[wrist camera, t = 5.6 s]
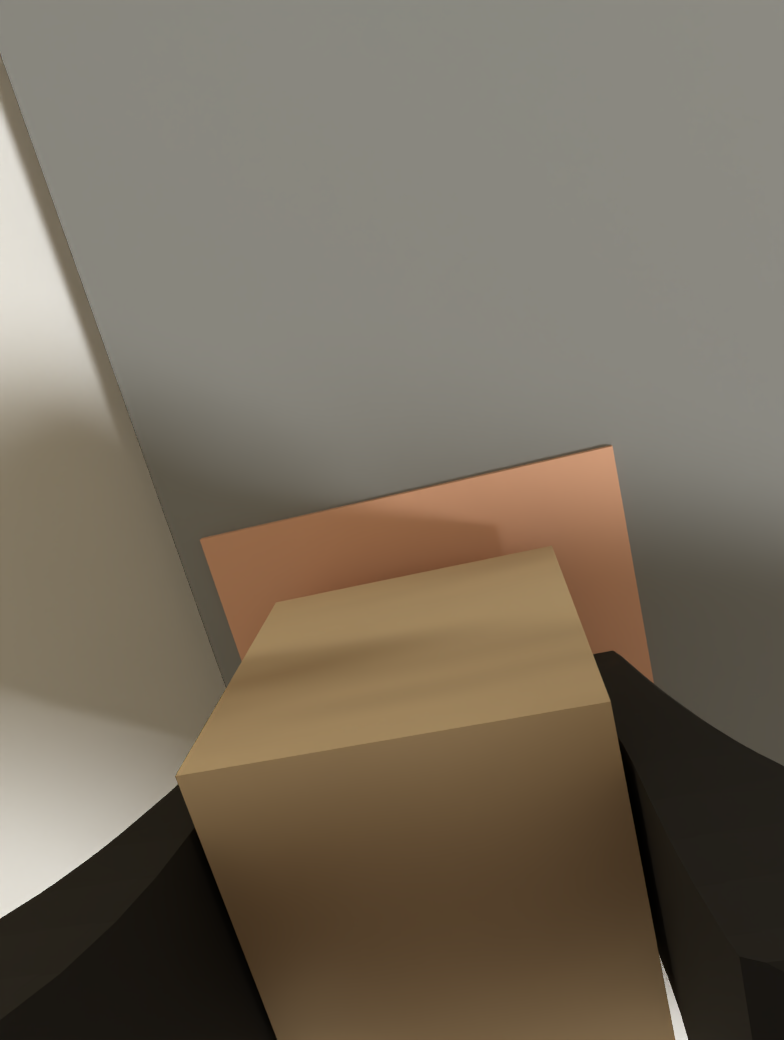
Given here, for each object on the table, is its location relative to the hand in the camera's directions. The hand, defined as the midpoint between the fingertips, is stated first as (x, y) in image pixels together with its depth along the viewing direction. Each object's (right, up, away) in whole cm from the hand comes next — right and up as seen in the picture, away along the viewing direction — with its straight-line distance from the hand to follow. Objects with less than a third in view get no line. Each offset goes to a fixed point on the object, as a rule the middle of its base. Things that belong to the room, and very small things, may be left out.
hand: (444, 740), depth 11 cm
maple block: (0, 0, +1) cm, 1 cm away
